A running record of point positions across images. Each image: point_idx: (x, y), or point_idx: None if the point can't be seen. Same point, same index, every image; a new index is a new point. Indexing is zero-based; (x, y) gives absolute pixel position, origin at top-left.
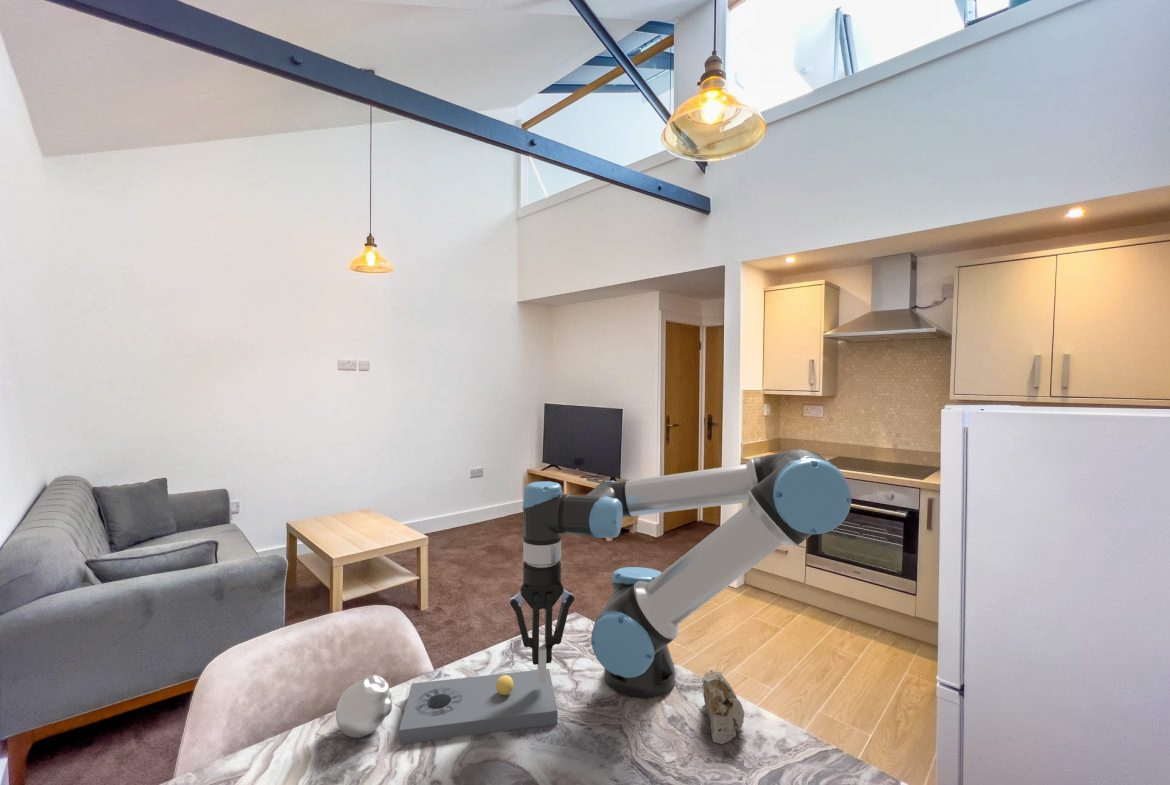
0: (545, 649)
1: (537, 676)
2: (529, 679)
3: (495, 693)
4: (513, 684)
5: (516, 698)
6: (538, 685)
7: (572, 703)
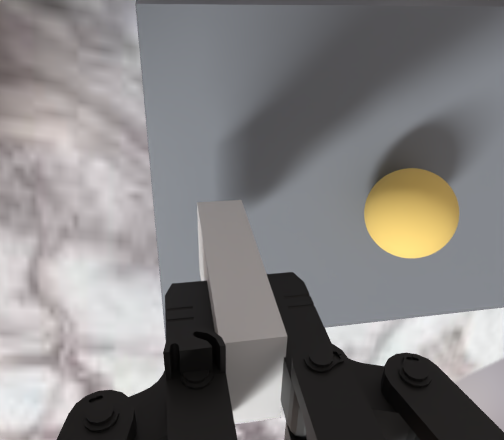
0: (227, 345)
1: None
2: None
3: None
4: (369, 212)
5: (346, 150)
6: None
7: (54, 148)
